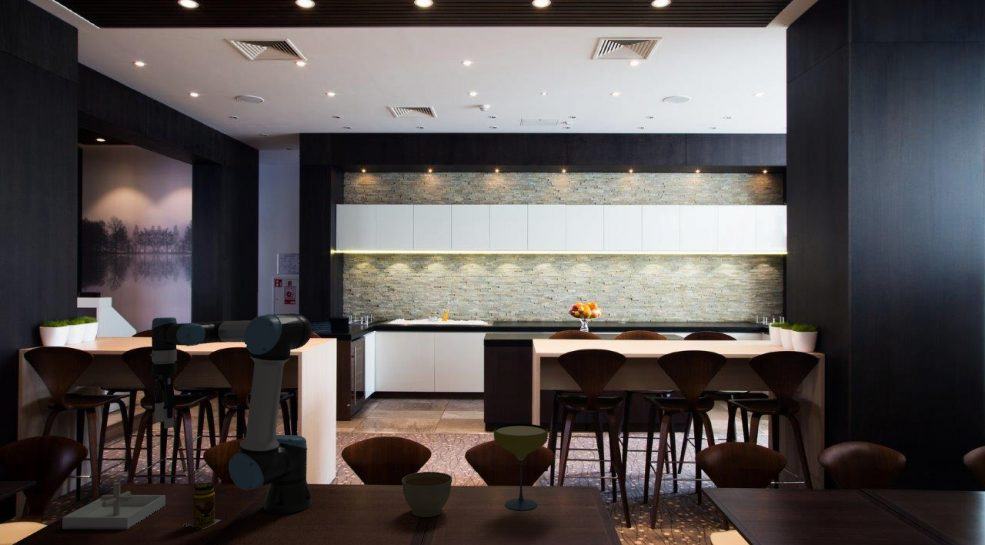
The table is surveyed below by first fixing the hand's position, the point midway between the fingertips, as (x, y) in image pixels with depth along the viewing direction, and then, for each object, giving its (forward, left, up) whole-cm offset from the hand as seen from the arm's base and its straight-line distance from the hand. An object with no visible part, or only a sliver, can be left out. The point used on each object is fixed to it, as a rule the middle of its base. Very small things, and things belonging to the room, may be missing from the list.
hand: (164, 424), depth 207 cm
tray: (-6, +14, -26) cm, 30 cm away
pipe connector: (-6, +14, -26) cm, 30 cm away
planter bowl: (-65, -65, -26) cm, 96 cm away
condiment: (-29, -6, -26) cm, 40 cm away
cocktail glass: (-79, -93, -26) cm, 125 cm away
